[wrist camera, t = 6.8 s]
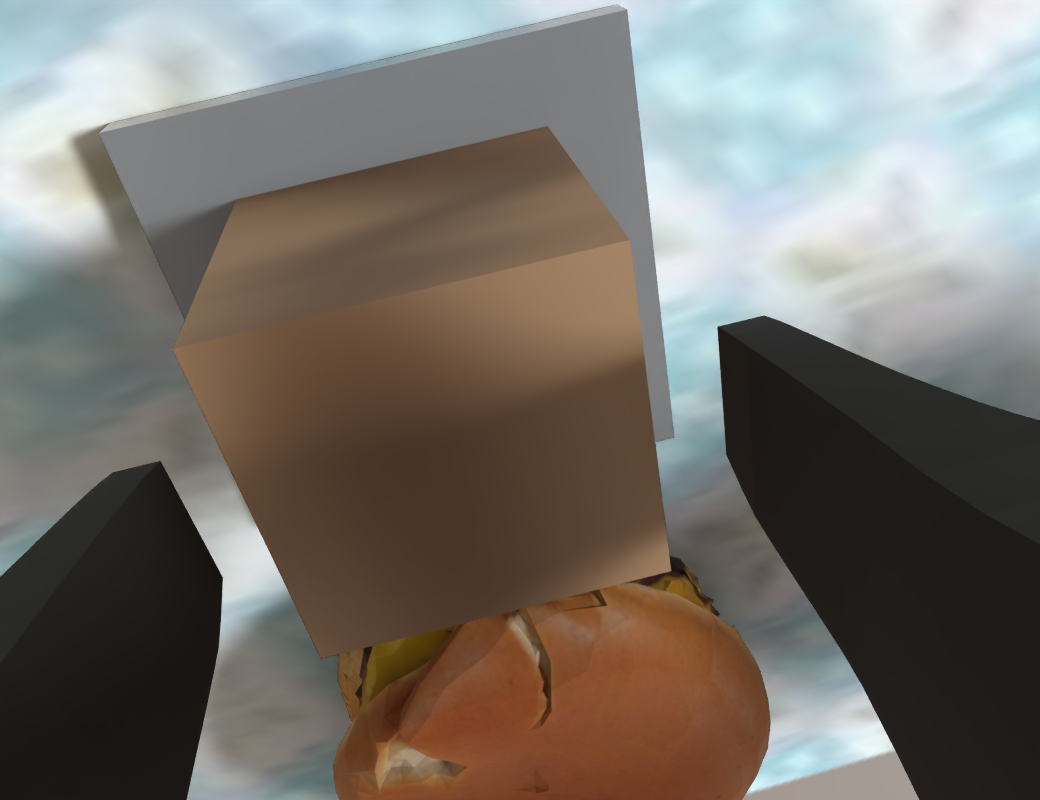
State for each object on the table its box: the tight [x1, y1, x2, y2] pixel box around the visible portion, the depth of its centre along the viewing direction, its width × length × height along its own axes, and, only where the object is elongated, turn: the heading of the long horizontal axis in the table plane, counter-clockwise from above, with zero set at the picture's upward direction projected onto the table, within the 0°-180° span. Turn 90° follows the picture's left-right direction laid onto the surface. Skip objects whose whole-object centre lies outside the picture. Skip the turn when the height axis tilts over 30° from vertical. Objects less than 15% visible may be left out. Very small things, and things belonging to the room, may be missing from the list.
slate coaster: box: [99, 5, 674, 442], centre depth 15 cm, size 8×8×1 cm
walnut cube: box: [172, 126, 671, 659], centre depth 12 cm, size 5×5×5 cm
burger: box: [333, 556, 770, 800], centre depth 19 cm, size 10×9×5 cm
